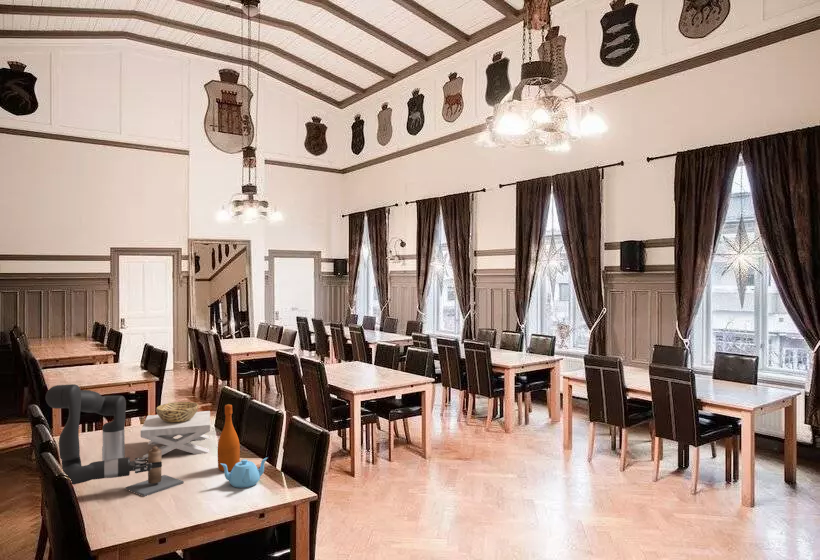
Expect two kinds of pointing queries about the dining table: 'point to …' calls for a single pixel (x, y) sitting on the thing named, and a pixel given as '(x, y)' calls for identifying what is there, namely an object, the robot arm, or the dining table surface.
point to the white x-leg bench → (177, 427)
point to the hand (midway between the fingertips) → (161, 462)
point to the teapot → (244, 473)
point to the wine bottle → (228, 443)
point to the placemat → (154, 485)
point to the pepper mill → (154, 473)
